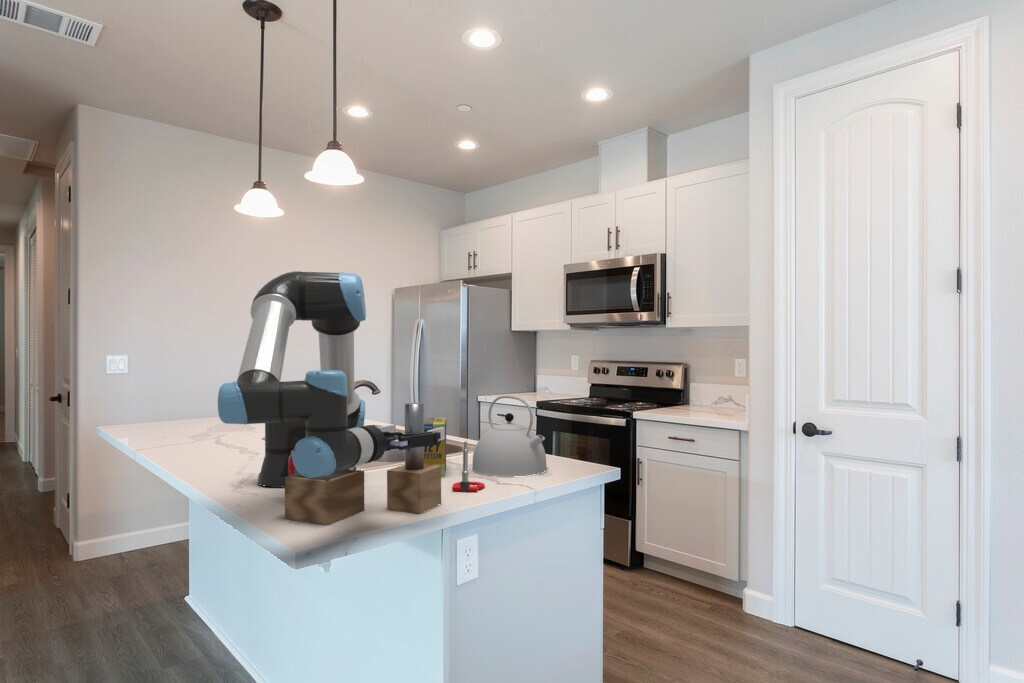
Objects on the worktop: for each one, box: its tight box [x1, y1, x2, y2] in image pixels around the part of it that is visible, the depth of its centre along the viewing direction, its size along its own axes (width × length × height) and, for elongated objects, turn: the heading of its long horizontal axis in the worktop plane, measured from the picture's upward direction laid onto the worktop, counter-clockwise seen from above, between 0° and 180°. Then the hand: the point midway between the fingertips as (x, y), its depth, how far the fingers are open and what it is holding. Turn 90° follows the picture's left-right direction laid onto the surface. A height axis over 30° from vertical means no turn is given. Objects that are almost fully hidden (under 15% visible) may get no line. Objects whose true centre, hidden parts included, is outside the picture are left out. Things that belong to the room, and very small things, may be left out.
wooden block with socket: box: [284, 466, 365, 526], centre depth 131 cm, size 12×12×10 cm
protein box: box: [424, 417, 447, 478], centre depth 174 cm, size 10×15×16 cm
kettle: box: [471, 394, 548, 478], centre depth 178 cm, size 25×23×23 cm
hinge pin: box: [404, 402, 425, 470], centre depth 137 cm, size 4×4×15 cm
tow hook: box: [451, 440, 486, 493], centre depth 155 cm, size 8×13×9 cm
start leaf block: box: [386, 464, 442, 514], centre depth 137 cm, size 9×9×9 cm
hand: (418, 431), depth 138 cm, fingers open, 13 cm apart
